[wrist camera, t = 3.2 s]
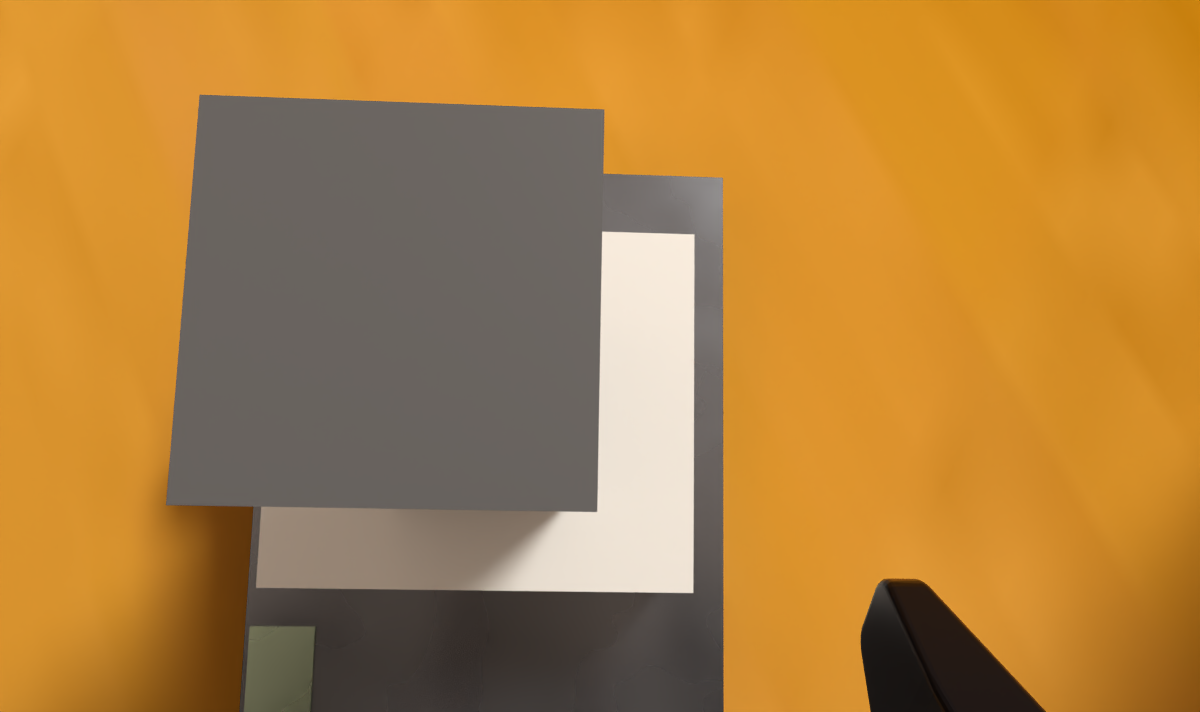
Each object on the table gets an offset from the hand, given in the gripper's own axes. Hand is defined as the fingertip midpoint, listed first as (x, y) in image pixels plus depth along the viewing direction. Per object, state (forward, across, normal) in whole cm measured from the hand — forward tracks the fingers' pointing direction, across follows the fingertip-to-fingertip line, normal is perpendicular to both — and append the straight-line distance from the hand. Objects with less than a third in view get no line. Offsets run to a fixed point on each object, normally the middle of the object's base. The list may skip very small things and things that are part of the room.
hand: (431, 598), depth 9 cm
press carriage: (+8, +1, +4) cm, 9 cm away
